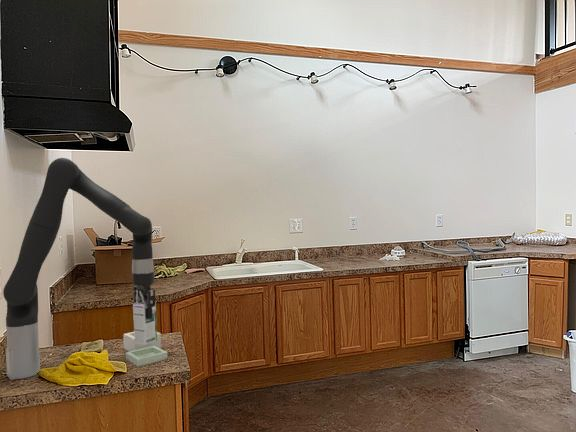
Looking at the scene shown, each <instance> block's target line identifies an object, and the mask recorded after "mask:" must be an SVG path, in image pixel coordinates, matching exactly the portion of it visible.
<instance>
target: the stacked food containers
mask: <svg viewBox="0 0 576 432" xmlns="http://www.w3.org/2000/svg"><path fill="white" fill-rule="evenodd" d="M122 337H123V350H124V351H125V352H130V351H134V350H139V349H143V348H147V347H151V346H156V347H158V348H160V349H162V334H161V332H159V331H157V341H155V342H152V343H149V344H147V345H142V344H137V343H135V336H134V331H132V332H127V333H123V335H122Z"/></svg>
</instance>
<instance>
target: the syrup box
mask: <svg viewBox="0 0 576 432" xmlns="http://www.w3.org/2000/svg"><path fill="white" fill-rule="evenodd" d="M152 303H153V300H152ZM156 305H157V302H155V306H154V307H152V318H150V319H146V312H145V309H146V308H145V304H144V303H143V302H140V303H132V311H133V313H132V314H133V329H134V330H133V332H134V336H135V343H137V344H142V345H147V344H149V343H152V342H155V341H157V332H158V328H157V325H158V323H157V308H156V307H157V306H156Z"/></svg>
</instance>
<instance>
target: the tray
mask: <svg viewBox="0 0 576 432" xmlns="http://www.w3.org/2000/svg"><path fill="white" fill-rule="evenodd" d="M168 359H169V357H168V352H167V351H166V350H163V349H162V348H161V349H160V348H158V347H156V346H151V347H147V348H143V349H139V350H134V351H130V352H128V351H125V360H126V361H127V362H130V363H131V364H133V365H134V366H136V367H138V368H139V367H141V366H146V365H150V364H153V363H158V362H161V361H165V360H168Z"/></svg>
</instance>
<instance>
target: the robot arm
mask: <svg viewBox="0 0 576 432" xmlns="http://www.w3.org/2000/svg"><path fill="white" fill-rule="evenodd" d="M69 190H72V191H73V192H76V193H77V194H78V195H81V196H82V197H84V198H85V199H87V200H88V201H90V203H92V204H93V205H94V206H95V207H96V208H98V209H99V210H100V211H102V212H104V214H106V215H107V216H109V217H110V218H112V219H113V220H114V221H116V222H118V223H120V224H121V225H122V226H124V228H126V230H128V231H129V232H131V233H132V246H131V259H132V263H131V275H132V276H131V277H132V285H133V287H132V292H133V294H132V295H133V302H134V303H133V304H136V303H140V302H143V303H144V304H145V308H146V309H145V312H146V319H150V318H152V307H154V306H155V303H156V290H155V289H152V288H151V286H152V285H153V284H154V283H155V269H154V268H155V264H154V259H153V247H152V246H153V245H152V240H153V226H152V221H151V219H150V218H148V217H146V216H144V215H142V214H141V213H139V212H138V211H136V210H135V209H133V208H132V207H131V206H130V205H129V204H128V203H126V202H125V201H123V200H122V199H121V198H119V197H118V196H117V195H115V194H113V193H112V192H110V191H108V190H106V189H105V188H103V187H101V186H100V185H98V184H97V183H96V182H94V181H93V180H92V179H91V178H90V177H88V176H87V175H86V173H84V172H83V171H82V170H81V169H80V167H79V166H78V165H77V164H76V163H75V162H74V161H72V160H71V159H70V158H66V157H59V158H56V159H54V160H53V161H52V162H51V163H50V164H49V165H48V167H47V171H46V176H45V180H44V184H43V188H42V192H41V194H40V197H39V199H38V200H37V203H36V205H35V208H34V210H33V213H32V215H31V217H30V220H29V222H28V225H27V227H26V230H25V232H24V237H23V240H22V242H21V246H20V249H19V254H18V257H17V261H16V263H15V266H14V268H13V270H12V271H11V274H10V276H9V278H8V279H7V282H6V283H5V285H4V287H3V290H2V293H3V294H2V295H3V298H4V300H5V301H6V315H5V325H6V326H5V327H6V332H5V333H6V347H5V359H6V361H5V362H6V376H7V377H8V379H9V380H10V381H13V380H22V379H27V378H31V377H34V376H36V375H38V374H39V373H38V371H39V370H40V371H41V365H40V364H41V361H40V359H41V358H40V339H39V318H38V316H39V291H38V290H39V289H38V283H37V282H38V279H39V275H40V272H41V269H42V266H43V264H44V262H45V261H46V259H47V257H48V255H49V253H50V252H51V250H52V247H53V245H54V244H55V241H56V239H57V236H58V233H59V230H60V227H61V223H62V217H63V209H64V203H65V200H66V197H67V195H68V191H69ZM152 301H153V303H152ZM37 373H38V374H37Z"/></svg>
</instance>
